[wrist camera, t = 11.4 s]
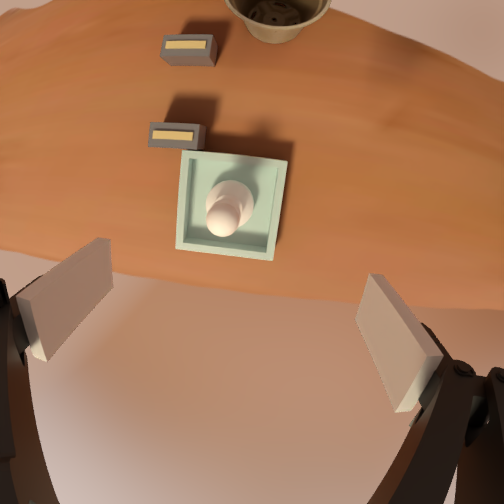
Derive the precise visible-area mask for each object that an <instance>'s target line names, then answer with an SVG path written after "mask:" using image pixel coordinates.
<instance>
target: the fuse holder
mask: <svg viewBox="0 0 504 504" xmlns="http://www.w3.org/2000/svg"><path fill="white" fill-rule="evenodd" d="M217 50H218V45H217V43H216V41H215V38H214V36H213V35H207V34H181V35H164V38H163V43H162V48H161V53H160V57H161V58H162V59H164V60H165V61H166V62H167V63H168V64H169V65H171V66H215V63H216V57H217ZM206 128H207V127H206V126H203V125H201V124H188V123H164V122H150V130H149V140H148V147H162V148H180V149H194V150H199V149H204V146H205V137H206Z"/></svg>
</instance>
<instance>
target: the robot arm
mask: <svg viewBox="0 0 504 504" xmlns="http://www.w3.org/2000/svg"><path fill="white" fill-rule="evenodd" d="M112 288H113V278H112V263H111V241H110V239H106V238H97V239H95V240H93V241H92V242H90V243H89V244H87V245H86V246H84V247H83V248H81V249H80V250H78V251H77V252H75V253H74V254H72V255H71V256H70V257H68V258H67V259H65V260H64V261H62V262H61V263H60V264H58V265H57V266H55V267H54V268H52V269H51V270H50V271H48V272H47V273H45V274H44V275H42V276H39V277H37V278H36V279H35V280H33V281H32V282H31V283H29V284H28V285H26V287H24V288H22V289H21V290H20V291H19V292H17V293H16V294H15V295H14V296H12V297H11V298H10V299H9V296H8V292H7V288H6V284H5V280H3V279H2V278H0V504H60V503H59V501H58V499H57V497H56V494H55V491H54V488H53V485H52V482H51V479H50V476H49V473H48V470H47V466H46V463H45V459H44V455H43V452H42V448H41V443H40V440H39V435H38V431H37V426H36V420H35V415H34V410H33V403H32V397H31V390H30V382H29V373H28V362H27V355H26V353H25V349H26V348H27V347H28V346H29V345H30V348H31V351H32V353H33V356H34V357H36V358H38V359H41V360H43V361H46V362H48V361H49V360H50V358H51V357H52V356H53V354H55V352H56V351H57V350H58V349H59V347H60V346H61V345H62V344H63V343H64V341H65V340H66V339H67V338H68V337H69V336H70V335H71V333H72V332H73V331H74V330H75V329H76V328H77V327H78V325H79V324H80V323H81V322H82V321H83V320H84V319H85V318H86V316H87V315H88V314H89V313H90V312H91V311H92V310H93V309H94V308H95V306H96V305H97V304H98V303H99V302H100V301H101V300H102V299H103V298H104V297H105V296H106V294H107V293H108V292H109V291H110V290H111V289H112ZM355 321H356V323H357V325H358V328H359V329H360V332H361V334H362V336H363V338H364V341H365V343H366V345H367V348H368V350H369V352H370V354H371V357H372V359H373V361H374V363H375V366H376V368H377V370H378V373H379V375H380V378H381V380H382V382H383V385H384V387H385V390H386V392H387V394H388V397H389V399H390V402H391V404H392V407H393V409H394V412H406V411H411V410H412V409H413V407H414V406H415V404H416V403H417V401H418V400H419V402H420V404H421V406H422V407H421V409H420V410H419V412H418V413H417V415H416V416H415V418H414V419H413V420H412V422H411V424H410V425H409V426H410V427H411V428H410V430H409V432H408V435H407V437H406V439H405V441H404V442H403V444H402V447H401V449H400V450H399V452H398V454H397V456H396V458H395V460H394V461H393V463H392V465H391V466H390V468H389V470H388V472H387V474H386V475H385V477H384V478H383V480H382V482H381V483H380V485H379V486H378V488H377V490H376V491H375V493H374V494H373V496H372V497H371V499H370V500H369V502H368V503H367V504H443V503H444V501H445V498H446V496H447V493H448V490H449V487H450V485H451V482H452V479H453V476H454V473H455V470H456V467H457V481H456V493H455V501H454V504H504V369H502V368H500V367H494V368H492V369H491V371H490V372H489V374H488V376H487V377H483V376H477V375H476V373H475V371H474V369H473V368H472V367H471V366H470V365H469V364H467V363H465V362H463V361H460V360H453V359H452V358H451V356H450V355H449V353H448V352H447V351H446V349H445V348H444V346H443V345H442V344H441V343H440V341H439V340H438V338H436V336H435V334H434V333H433V332H432V330H431V329H430V328H428V327H427V326H426V325H424V324H423V323H420V322H419V321H418V319H417V318H416V317H415V315H414V314H413V313H412V311H411V310H410V309H409V307H408V306H407V305H406V304H405V302H404V301H403V300H402V298H401V297H400V296H399V295H398V293H397V292H396V291H395V290H394V288H393V287H392V286H391V285H390V283H389V282H388V281H387V280H386V278H385V277H384V276H383V275H381V274H373V273H369V276H368V279H367V282H366V286H365V289H364V293H363V296H362V299H361V302H360V306H359V309H358V312H357V315H356V318H355ZM488 421H489V422H488ZM487 422H488V424H487Z"/></svg>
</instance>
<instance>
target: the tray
mask: <svg viewBox="0 0 504 504" xmlns="http://www.w3.org/2000/svg"><path fill="white" fill-rule="evenodd" d="M287 163H288V161H286V160H280V159H273V158H265V157H257V156H249V155H241V154H231V153H221V152H211V151H199V150H182V158H181V169H180V181H179V194H178V209H177V227H176V249H181V250H189V251H197V252H205V253H213V254H221V255H229V256H237V257H246V258H254V259H262V260H270V261H273V256H274V250H275V243H276V237H277V230H278V224H279V217H280V211H281V204H282V197H283V190H284V184H285V177H286V170H287ZM227 180H235V181H238V182H241V183H243V184H244V185H245V186H247V187H248V189H249V190H250V191H251V193H252V195H253V200H254V208H253V213H252V215H251V217H250V218H249V220H248V221H247V222H246V223H245V224H243V225H242V226H240V227H238V228H237V229H236V231H235V232H234V233H233V234H231V235H229V236H225V237H220V236H217V235H214V234H213V233H211V231H210V230H209V229H208V227H207V224H206V216H207V211H206V198H207V196H208V193H209V192H210V191H211V189H212V188H213V187H214V186H216V185H217V184H218V183H220V182H222V181H227Z"/></svg>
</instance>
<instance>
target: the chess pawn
mask: <svg viewBox="0 0 504 504" xmlns="http://www.w3.org/2000/svg"><path fill="white" fill-rule="evenodd" d="M253 208H254V200H253V195H252V193H251V191H250V190H249V189H248V187H247V186H245V185H244V184H243V183H241V182H238V181H235V180H227V181H222V182H220V183H218V184H217V185H216V186H214V187H213V188H212V189H211V191H210V192H209V193H208V196H207V198H206V211H207V216H206V224H207V227H208V229H209V230H210V231H211V233H213V234H214V235H217V236H220V237H225V236H229V235H231V234H233V233H234V232H235V231H236V229H237V228H238V227H240V226H242V225H243V224H245V223H246V222H247V221H248V220H249V218H250V217H251V215H252V213H253Z"/></svg>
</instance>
